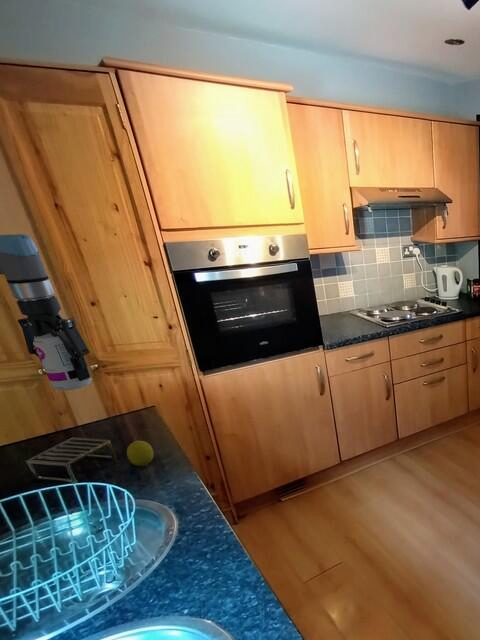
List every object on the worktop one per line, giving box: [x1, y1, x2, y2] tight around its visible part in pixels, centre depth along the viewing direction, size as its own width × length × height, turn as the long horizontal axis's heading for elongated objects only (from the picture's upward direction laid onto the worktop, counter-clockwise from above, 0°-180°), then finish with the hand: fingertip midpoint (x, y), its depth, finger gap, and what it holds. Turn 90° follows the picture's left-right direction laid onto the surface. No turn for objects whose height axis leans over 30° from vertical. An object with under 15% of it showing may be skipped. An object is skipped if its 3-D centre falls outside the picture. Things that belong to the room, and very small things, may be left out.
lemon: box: [126, 440, 155, 467], centre depth 124 cm, size 6×6×8 cm
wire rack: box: [24, 436, 119, 484], centre depth 121 cm, size 12×12×7 cm
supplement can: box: [33, 333, 92, 392], centre depth 123 cm, size 8×8×15 cm
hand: (70, 378), depth 125 cm, fingers closed on supplement can, 8 cm apart
